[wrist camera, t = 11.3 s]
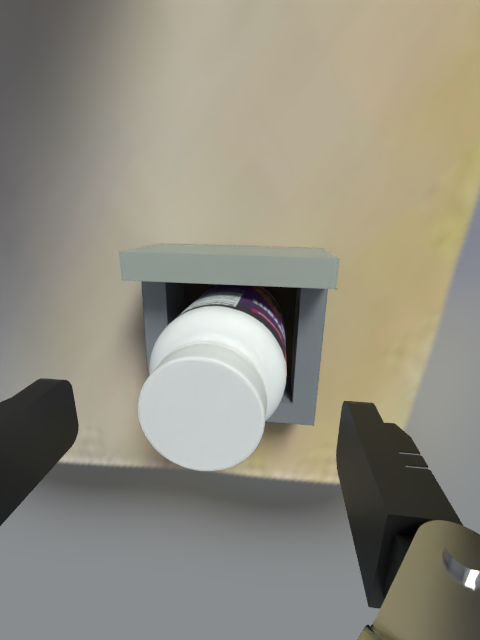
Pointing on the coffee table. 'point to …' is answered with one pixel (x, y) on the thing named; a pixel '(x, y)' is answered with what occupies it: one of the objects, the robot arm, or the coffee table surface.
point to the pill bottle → (215, 378)
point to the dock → (253, 270)
